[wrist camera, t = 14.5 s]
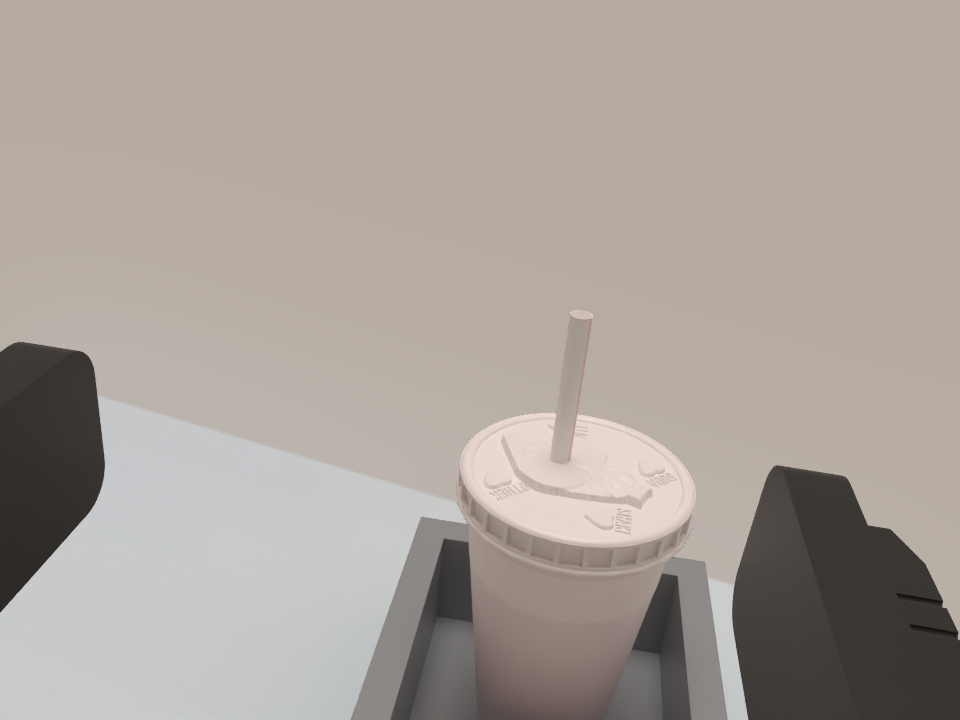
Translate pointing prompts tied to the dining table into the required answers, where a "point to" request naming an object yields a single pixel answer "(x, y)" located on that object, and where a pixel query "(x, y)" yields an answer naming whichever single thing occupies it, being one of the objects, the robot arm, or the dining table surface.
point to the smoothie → (565, 550)
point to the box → (450, 643)
